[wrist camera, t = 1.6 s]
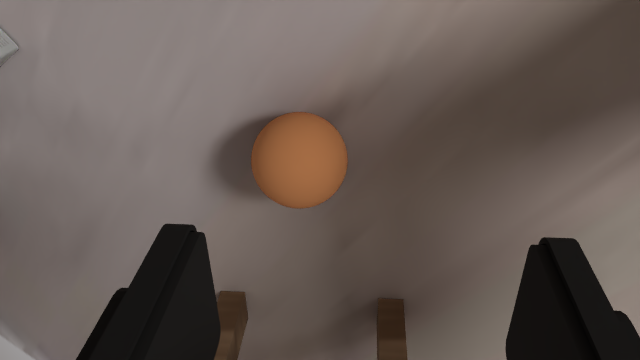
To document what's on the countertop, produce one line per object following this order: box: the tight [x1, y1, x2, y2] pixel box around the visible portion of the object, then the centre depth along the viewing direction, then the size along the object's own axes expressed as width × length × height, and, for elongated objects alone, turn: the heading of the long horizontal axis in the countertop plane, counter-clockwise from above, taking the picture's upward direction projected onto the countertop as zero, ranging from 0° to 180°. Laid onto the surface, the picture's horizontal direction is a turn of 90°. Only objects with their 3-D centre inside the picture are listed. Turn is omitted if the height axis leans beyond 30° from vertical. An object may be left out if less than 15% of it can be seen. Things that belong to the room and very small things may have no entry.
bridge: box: [214, 291, 407, 360], centre depth 40 cm, size 3×15×10 cm, turn 91°
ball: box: [251, 112, 348, 208], centre depth 33 cm, size 6×6×6 cm
